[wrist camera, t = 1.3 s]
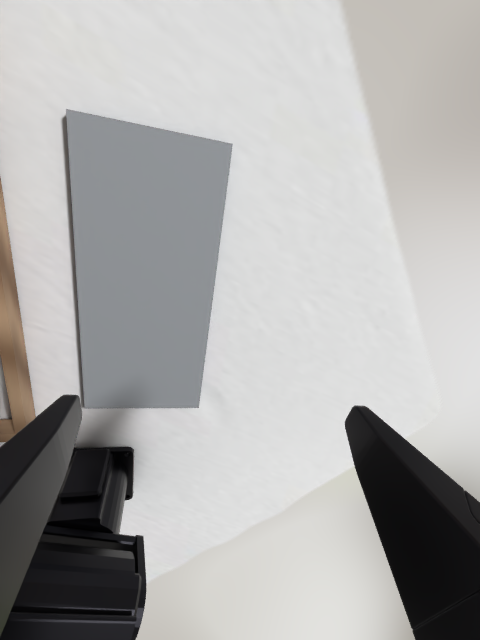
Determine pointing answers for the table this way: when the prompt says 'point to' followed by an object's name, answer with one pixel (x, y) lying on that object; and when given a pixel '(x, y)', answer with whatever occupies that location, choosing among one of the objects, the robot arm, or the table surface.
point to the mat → (144, 258)
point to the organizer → (12, 341)
